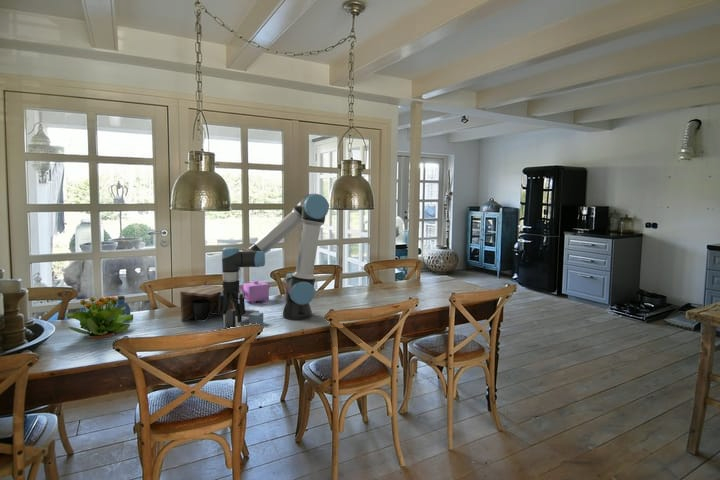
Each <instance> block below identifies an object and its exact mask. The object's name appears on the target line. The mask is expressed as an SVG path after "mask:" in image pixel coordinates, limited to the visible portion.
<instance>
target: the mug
mask: <svg viewBox="0 0 720 480" xmlns="http://www.w3.org/2000/svg"><path fill="white" fill-rule="evenodd" d="M213 302H216V306H215V308H214V310H213V311H212V313H209V309H210V303H213ZM217 304H218V303H217V301H211V302H210V301H209V300H206V299H200V300H195V301H193V302H192V307H193V313H194V316H195V317H194V319H195V321H197V322H204V321H207V320H208V319H209V318H211V317H212V316H213V315H214V314H213V312H214V311H215V309H216V307H217Z"/></svg>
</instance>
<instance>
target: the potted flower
mask: <svg viewBox="0 0 720 480" xmlns="http://www.w3.org/2000/svg"><path fill="white" fill-rule="evenodd" d="M79 302H80V306H81V305H82V306H83V307H84V310H81V311H80V312H79V311H74V312H73V311H72V312H65V313H64V315H65V316H66V318H70V319H73V320H77V321H79V325H80V328H81V329H80V328H77V327H73V326H67V328H68V329H69V330H71V331H73V332H76V333H78V334H79V333H80V334H83V335H88V336H89V338H90V339H92V340H94V339H95V340H99V339H100V340H101V339H106V338H110V337H112V336H115V334H116V333H117V334H122V333H123V332H126V330H128V329H129V328H130V327H131V324H130V323H124V322H133V320H134V314H133V313H130V314H129V315H126V314H124V315H121V313H123V312H124V311H123V310H124V309H126V307H124V308H122V309H121V308H116V309H115V308H114V305H115V304H116V305H117V303H118V298H116V297H115V296H111V297H109V296H106V297H100V298H99V299H98V300H96V298H95V297H94V296H91V297H90V298H89V300H87V301H86V299H85V298H84V299H81V300H80V301H79ZM116 305H115V306H116ZM104 306H105V308H104ZM87 310H88V311H87Z"/></svg>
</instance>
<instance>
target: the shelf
mask: <svg viewBox="0 0 720 480" xmlns="http://www.w3.org/2000/svg"><path fill="white" fill-rule="evenodd" d="M223 290H224V289H223V285H222V286H221V285H212V284H211V285H210V284H202V285H198V286H195V287H191V288H188V289H184V290H182V291H180V295H179V296H180V319H181V322H185V321H187V320H190V319H192V318H195V316H194V313H193V307H192V302H193V301H195V300H200V299H206V300H209V301H210V302H211V301H217V303H218V304H219V296H218V292H221V291H223ZM224 299H225V295H224ZM218 304H217V307H216V309H215V311H214V312H213V314H212V315H214V314H215V315H222V313H219V312H218ZM215 306H216V302H213V303H210V309H209V314H211V313H212V311H213V310H214V308H215ZM229 309H233V302H232V300H230V302H229V305H228V309H227V310H229Z"/></svg>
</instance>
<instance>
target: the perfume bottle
mask: <svg viewBox="0 0 720 480" xmlns="http://www.w3.org/2000/svg"><path fill="white" fill-rule="evenodd" d="M117 299H118V302H117V305H116V304H115V305H116V306H115V305H114V308H115V309H116V308H121V309H122V308H124V307H126V309H124V310H123V311H124V312H123V313H121V315H124V314H126V315H129V314H130V315H131V307H130V306H129V304H128V302H126V298H125V295H119V296H117Z"/></svg>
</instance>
